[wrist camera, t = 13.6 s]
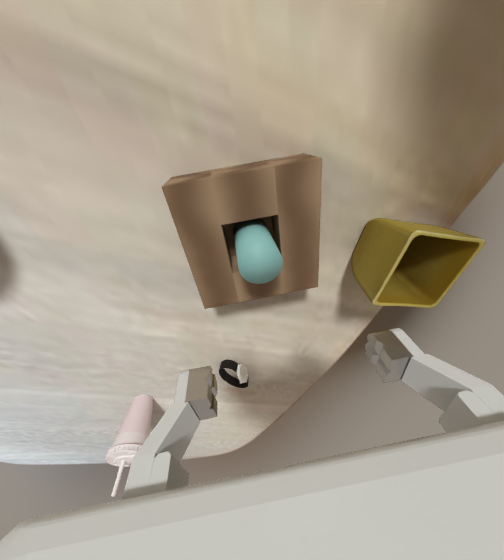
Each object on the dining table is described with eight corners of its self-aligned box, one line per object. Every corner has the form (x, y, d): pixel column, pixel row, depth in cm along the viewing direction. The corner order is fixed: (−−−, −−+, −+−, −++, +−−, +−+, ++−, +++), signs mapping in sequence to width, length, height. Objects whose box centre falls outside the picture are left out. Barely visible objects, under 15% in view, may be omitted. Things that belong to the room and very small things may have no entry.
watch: (253, 373, 44) (256, 390, 41) (233, 381, 45) (234, 399, 42) (234, 352, 40) (236, 370, 37) (212, 362, 40) (211, 380, 38)
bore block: (303, 153, 23) (322, 158, 19) (304, 266, 31) (317, 286, 27) (171, 177, 23) (161, 186, 19) (206, 285, 31) (204, 308, 27)
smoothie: (118, 396, 42) (81, 495, 31) (150, 387, 42) (124, 484, 30) (137, 411, 46) (109, 505, 34) (166, 403, 46) (148, 495, 34)
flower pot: (420, 212, 29) (490, 240, 21) (387, 270, 33) (435, 309, 26) (361, 203, 27) (414, 230, 20) (335, 265, 32) (370, 305, 24)
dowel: (264, 211, 25) (281, 240, 19) (268, 243, 27) (284, 279, 21) (230, 218, 25) (234, 249, 18) (236, 249, 27) (242, 287, 21)
